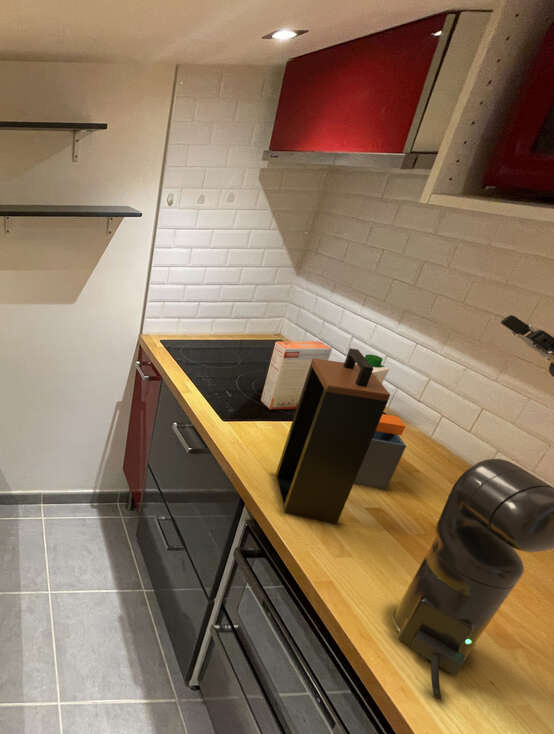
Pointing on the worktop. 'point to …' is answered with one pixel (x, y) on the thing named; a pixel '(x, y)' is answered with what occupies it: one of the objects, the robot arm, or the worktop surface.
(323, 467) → the box
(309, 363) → the cracker box
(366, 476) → the blue open bin
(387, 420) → the bar
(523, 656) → the worktop surface
